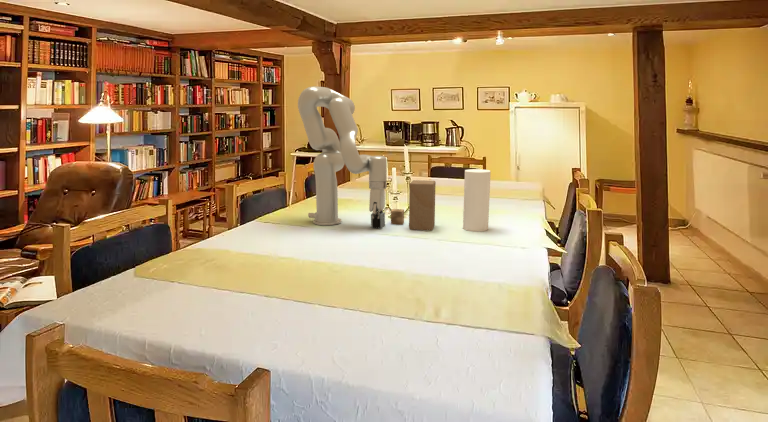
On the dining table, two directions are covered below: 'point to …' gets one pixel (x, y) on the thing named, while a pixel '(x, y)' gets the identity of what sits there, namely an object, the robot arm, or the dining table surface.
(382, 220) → the slate block
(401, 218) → the oak block
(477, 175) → the tall pillar cylinder
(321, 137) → the robot arm
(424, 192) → the wooden block
